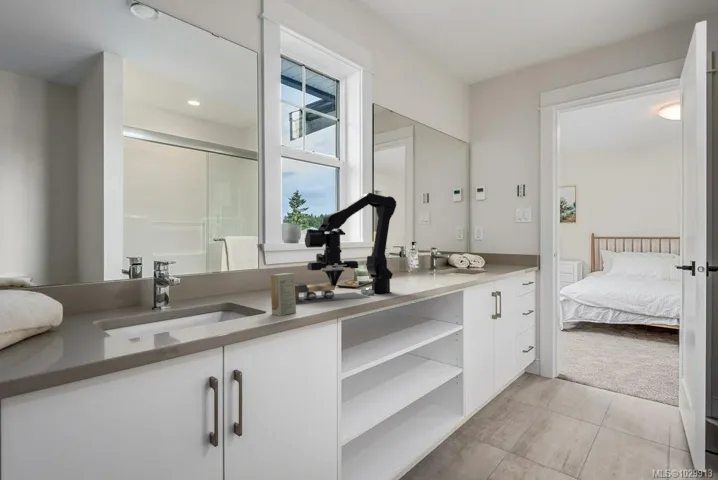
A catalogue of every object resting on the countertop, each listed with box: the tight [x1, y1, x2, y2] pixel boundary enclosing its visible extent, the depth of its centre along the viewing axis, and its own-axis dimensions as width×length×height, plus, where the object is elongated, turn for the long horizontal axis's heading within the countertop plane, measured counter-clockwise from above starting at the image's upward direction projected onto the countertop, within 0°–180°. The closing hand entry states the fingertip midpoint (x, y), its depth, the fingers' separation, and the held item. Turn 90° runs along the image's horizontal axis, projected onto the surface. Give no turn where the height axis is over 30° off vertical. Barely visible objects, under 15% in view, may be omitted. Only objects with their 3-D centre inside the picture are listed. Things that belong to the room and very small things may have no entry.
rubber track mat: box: [296, 291, 372, 306], centre depth 141 cm, size 30×16×1 cm, turn 115°
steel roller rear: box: [360, 286, 375, 297], centre depth 148 cm, size 3×6×3 cm
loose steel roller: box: [303, 292, 317, 300], centre depth 138 cm, size 3×6×3 cm, turn 25°
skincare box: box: [270, 272, 297, 317], centre depth 114 cm, size 6×4×12 cm
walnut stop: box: [295, 281, 308, 303], centre depth 136 cm, size 6×10×6 cm, turn 25°
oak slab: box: [306, 283, 336, 293], centre depth 140 cm, size 10×8×2 cm
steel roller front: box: [320, 290, 335, 299], centre depth 141 cm, size 3×6×3 cm
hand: (333, 288), depth 142 cm, fingers closed
